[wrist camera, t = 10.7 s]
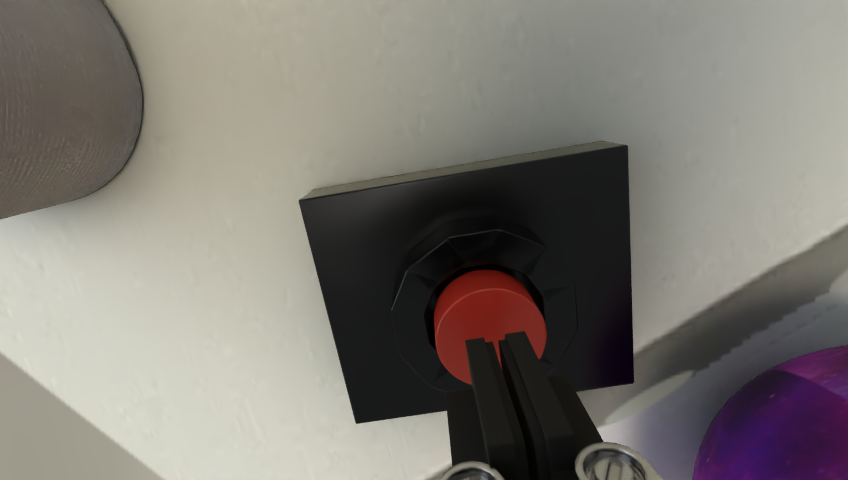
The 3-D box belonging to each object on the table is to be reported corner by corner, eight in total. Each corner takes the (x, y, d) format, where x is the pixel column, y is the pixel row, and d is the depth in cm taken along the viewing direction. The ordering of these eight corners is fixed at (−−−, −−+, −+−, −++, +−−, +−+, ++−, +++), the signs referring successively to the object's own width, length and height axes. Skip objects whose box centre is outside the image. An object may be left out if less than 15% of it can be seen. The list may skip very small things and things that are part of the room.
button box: (603, 140, 17) (655, 149, 13) (612, 355, 20) (657, 413, 16) (312, 189, 18) (282, 211, 14) (362, 392, 21) (348, 457, 17)
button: (528, 261, 15) (542, 280, 13) (537, 351, 16) (551, 379, 14) (426, 277, 15) (426, 298, 13) (441, 365, 16) (444, 395, 14)
